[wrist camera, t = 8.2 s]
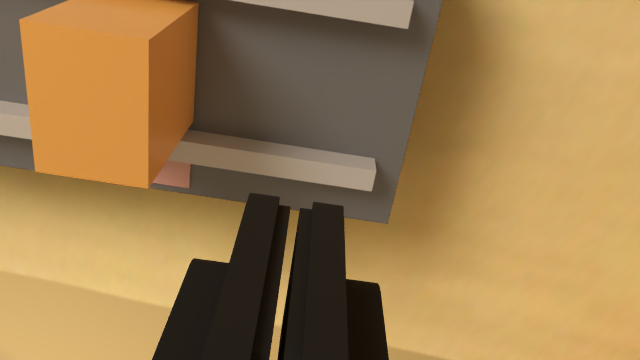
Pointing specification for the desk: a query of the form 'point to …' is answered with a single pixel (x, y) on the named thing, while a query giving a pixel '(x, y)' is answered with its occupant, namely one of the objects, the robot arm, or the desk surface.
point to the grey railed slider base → (277, 100)
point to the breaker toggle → (109, 86)
